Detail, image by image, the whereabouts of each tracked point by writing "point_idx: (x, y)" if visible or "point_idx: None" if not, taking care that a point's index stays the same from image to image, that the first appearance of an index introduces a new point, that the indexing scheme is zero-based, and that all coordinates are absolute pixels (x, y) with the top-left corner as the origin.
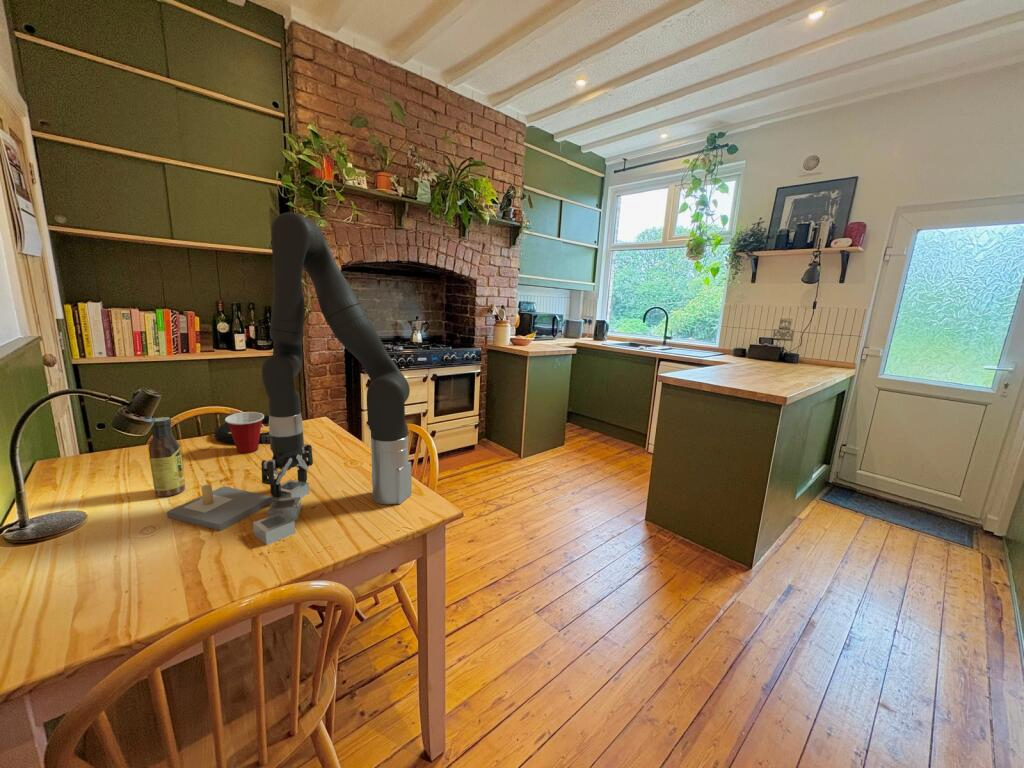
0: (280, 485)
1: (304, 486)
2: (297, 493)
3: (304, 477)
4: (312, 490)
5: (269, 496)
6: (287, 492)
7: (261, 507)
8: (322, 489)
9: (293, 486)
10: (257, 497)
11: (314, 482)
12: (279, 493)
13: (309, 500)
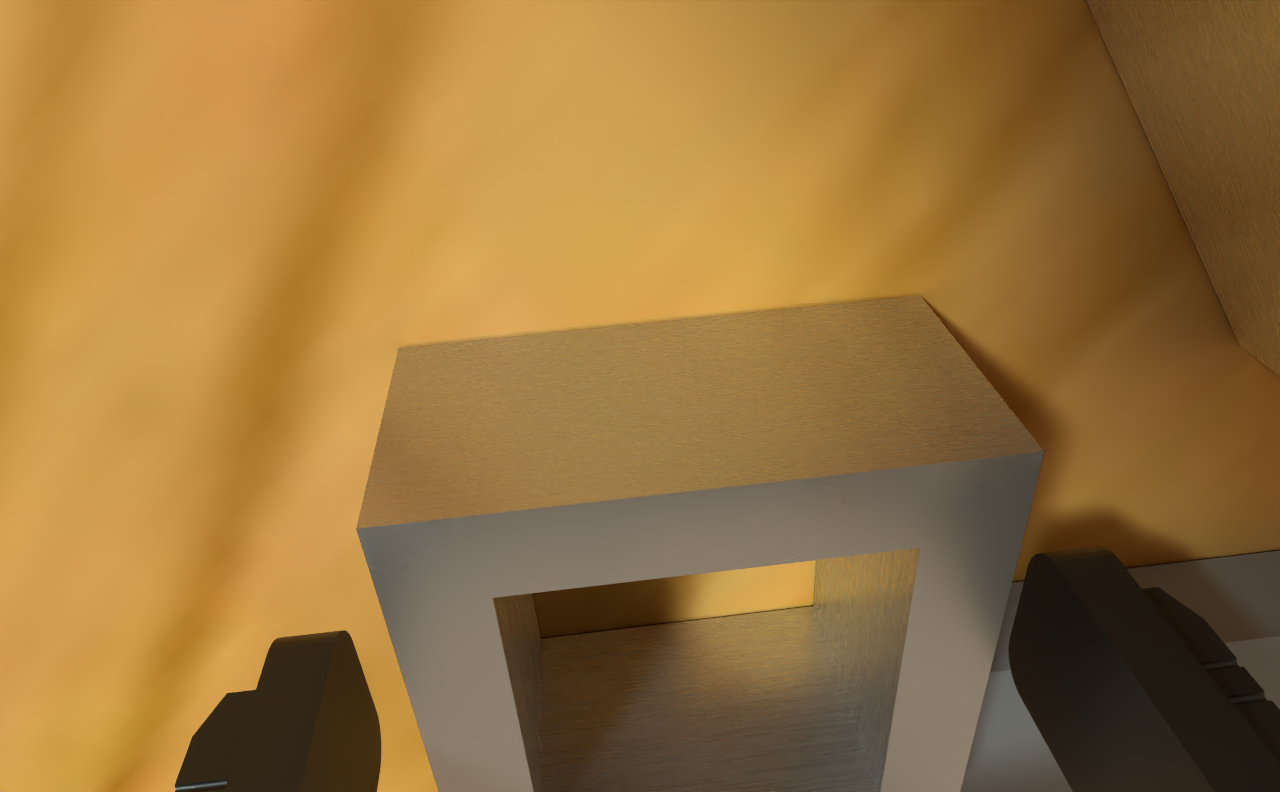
0: (1214, 788)
1: (535, 482)
2: (782, 402)
3: (297, 776)
4: (262, 395)
5: (1001, 699)
6: (1017, 531)
7: (1170, 570)
8: (59, 243)
9: (532, 697)
10: (1063, 783)
11: (8, 618)
12: (1143, 606)
13: (661, 62)
